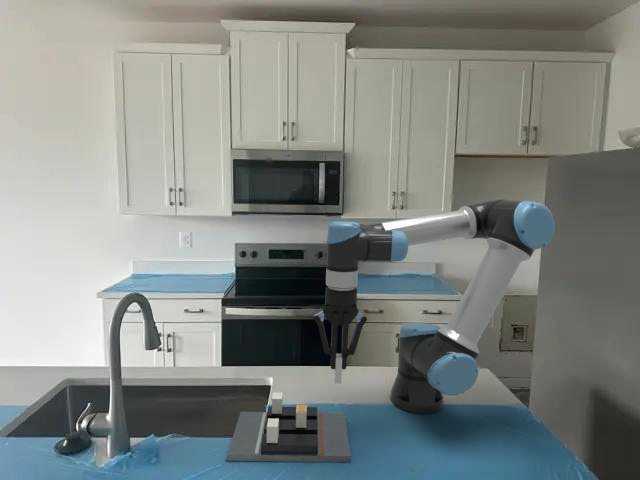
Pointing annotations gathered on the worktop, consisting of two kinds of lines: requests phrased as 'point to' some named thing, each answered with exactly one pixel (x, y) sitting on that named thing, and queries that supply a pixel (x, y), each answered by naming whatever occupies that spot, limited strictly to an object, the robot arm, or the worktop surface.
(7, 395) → the worktop surface
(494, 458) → the worktop surface
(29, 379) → the worktop surface
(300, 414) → the handle
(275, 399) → the handle
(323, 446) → the panel
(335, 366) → the robot arm
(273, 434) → the handle
